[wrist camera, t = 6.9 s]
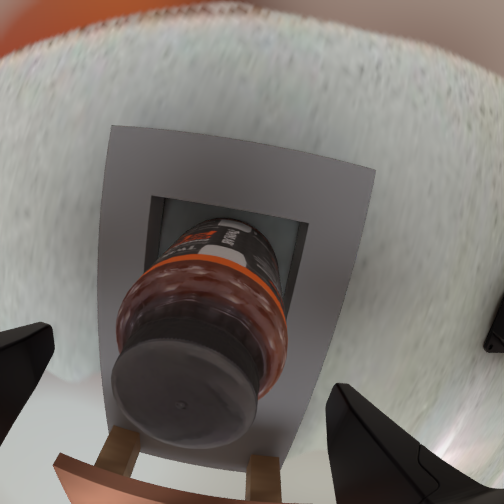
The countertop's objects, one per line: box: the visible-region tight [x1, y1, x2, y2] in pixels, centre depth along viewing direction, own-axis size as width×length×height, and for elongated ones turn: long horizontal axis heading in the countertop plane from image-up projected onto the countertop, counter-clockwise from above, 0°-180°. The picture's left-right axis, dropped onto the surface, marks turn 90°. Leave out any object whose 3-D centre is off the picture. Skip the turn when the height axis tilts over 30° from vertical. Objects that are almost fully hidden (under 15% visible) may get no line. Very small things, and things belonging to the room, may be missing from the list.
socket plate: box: [97, 125, 376, 473], centre depth 18 cm, size 13×22×2 cm, turn 170°
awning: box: [53, 425, 295, 504], centre depth 15 cm, size 13×6×8 cm, turn 80°
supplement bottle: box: [111, 218, 288, 449], centre depth 13 cm, size 6×6×11 cm
